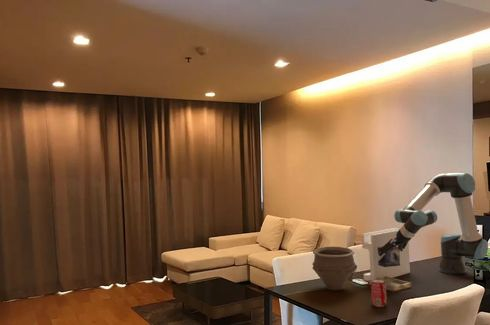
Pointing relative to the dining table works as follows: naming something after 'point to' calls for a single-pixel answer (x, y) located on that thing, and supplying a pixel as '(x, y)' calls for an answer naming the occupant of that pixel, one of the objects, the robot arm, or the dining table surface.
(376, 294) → the soda can
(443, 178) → the robot arm
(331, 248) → the planter
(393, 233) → the block
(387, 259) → the small box
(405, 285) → the tray
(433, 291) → the dining table surface
